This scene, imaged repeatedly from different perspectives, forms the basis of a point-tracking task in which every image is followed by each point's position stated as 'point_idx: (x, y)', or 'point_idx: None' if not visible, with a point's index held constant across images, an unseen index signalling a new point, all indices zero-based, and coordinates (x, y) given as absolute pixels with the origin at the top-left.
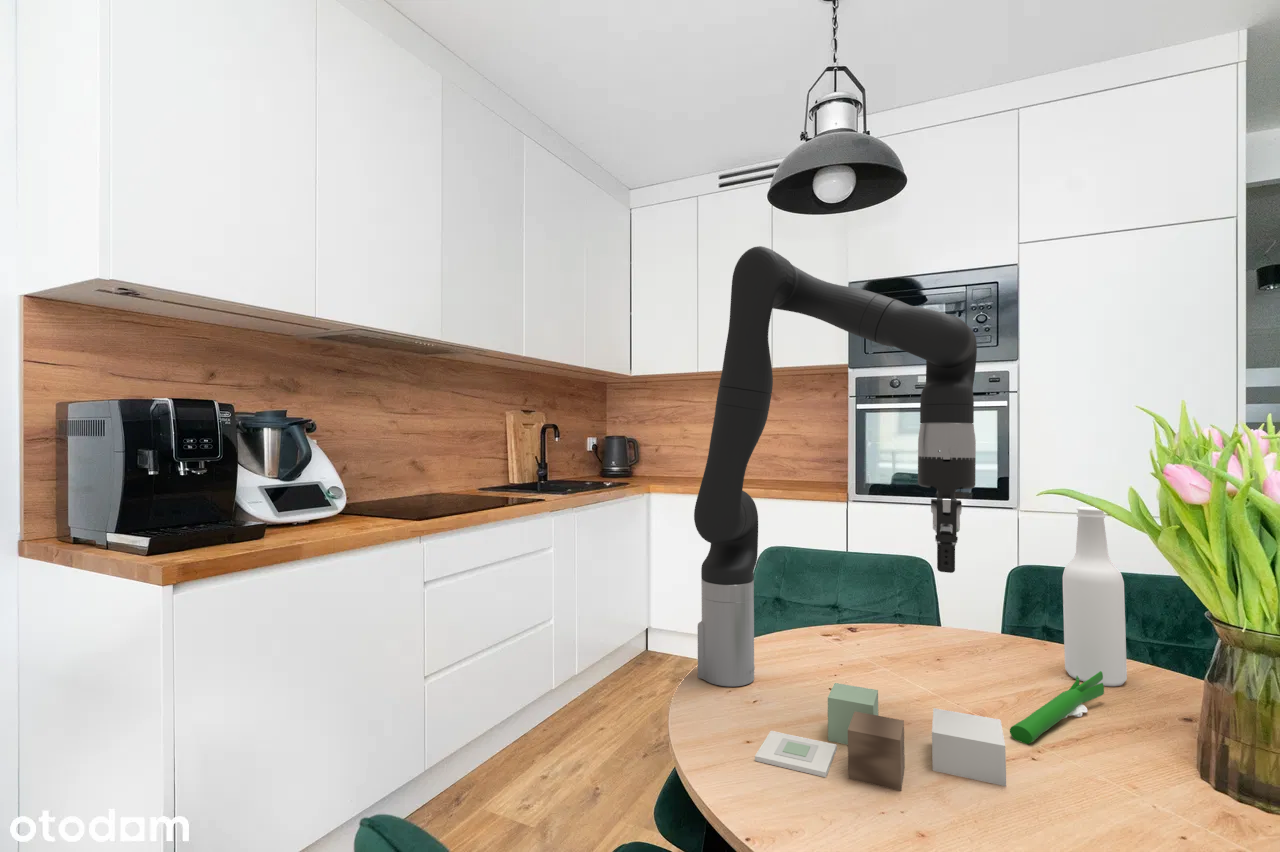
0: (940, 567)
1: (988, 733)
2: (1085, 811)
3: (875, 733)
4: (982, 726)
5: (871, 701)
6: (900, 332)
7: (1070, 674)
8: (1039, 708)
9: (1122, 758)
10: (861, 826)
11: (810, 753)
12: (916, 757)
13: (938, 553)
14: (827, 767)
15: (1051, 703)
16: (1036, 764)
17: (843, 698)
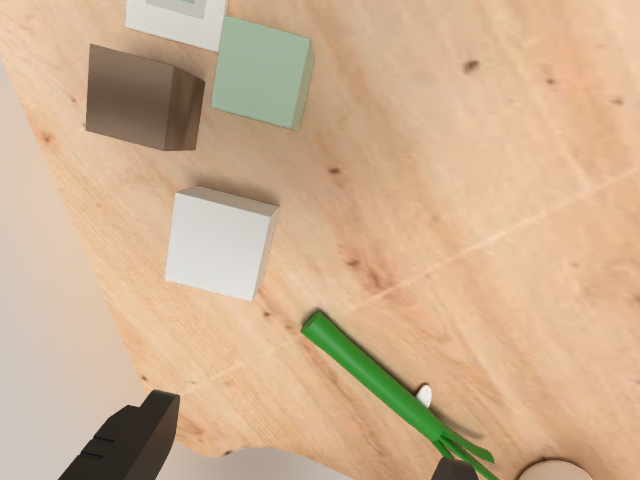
0: (124, 407)
1: (197, 270)
2: (160, 319)
3: (95, 92)
4: (219, 269)
5: (229, 106)
6: None
7: (554, 461)
8: (372, 371)
9: (293, 403)
10: (33, 68)
11: (172, 2)
12: (229, 172)
13: (94, 469)
14: (140, 30)
15: (383, 391)
16: (252, 312)
17: (228, 50)
